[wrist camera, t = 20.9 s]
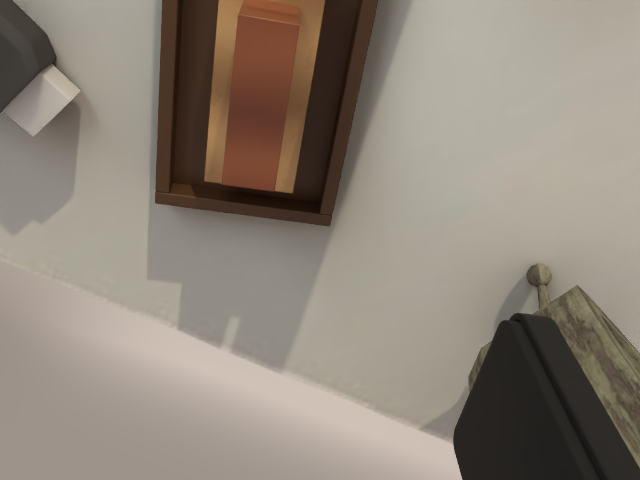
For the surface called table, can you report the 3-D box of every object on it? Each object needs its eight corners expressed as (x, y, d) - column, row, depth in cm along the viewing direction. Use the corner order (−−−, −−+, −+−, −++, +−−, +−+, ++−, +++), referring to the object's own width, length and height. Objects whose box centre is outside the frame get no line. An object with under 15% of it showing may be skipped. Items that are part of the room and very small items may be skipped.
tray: (328, 210, 38) (329, 227, 37) (161, 187, 37) (154, 203, 35) (392, -98, 29) (398, -96, 28) (175, -143, 28) (167, -143, 26)
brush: (228, -61, 30) (212, -44, 24) (328, -43, 30) (336, -22, 24) (210, 159, 36) (193, 217, 30) (292, 171, 36) (292, 229, 30)
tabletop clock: (642, 349, 46) (940, 760, 25) (542, 408, 49) (731, 818, 28) (541, 236, 40) (819, 646, 19) (435, 310, 43) (571, 736, 22)
